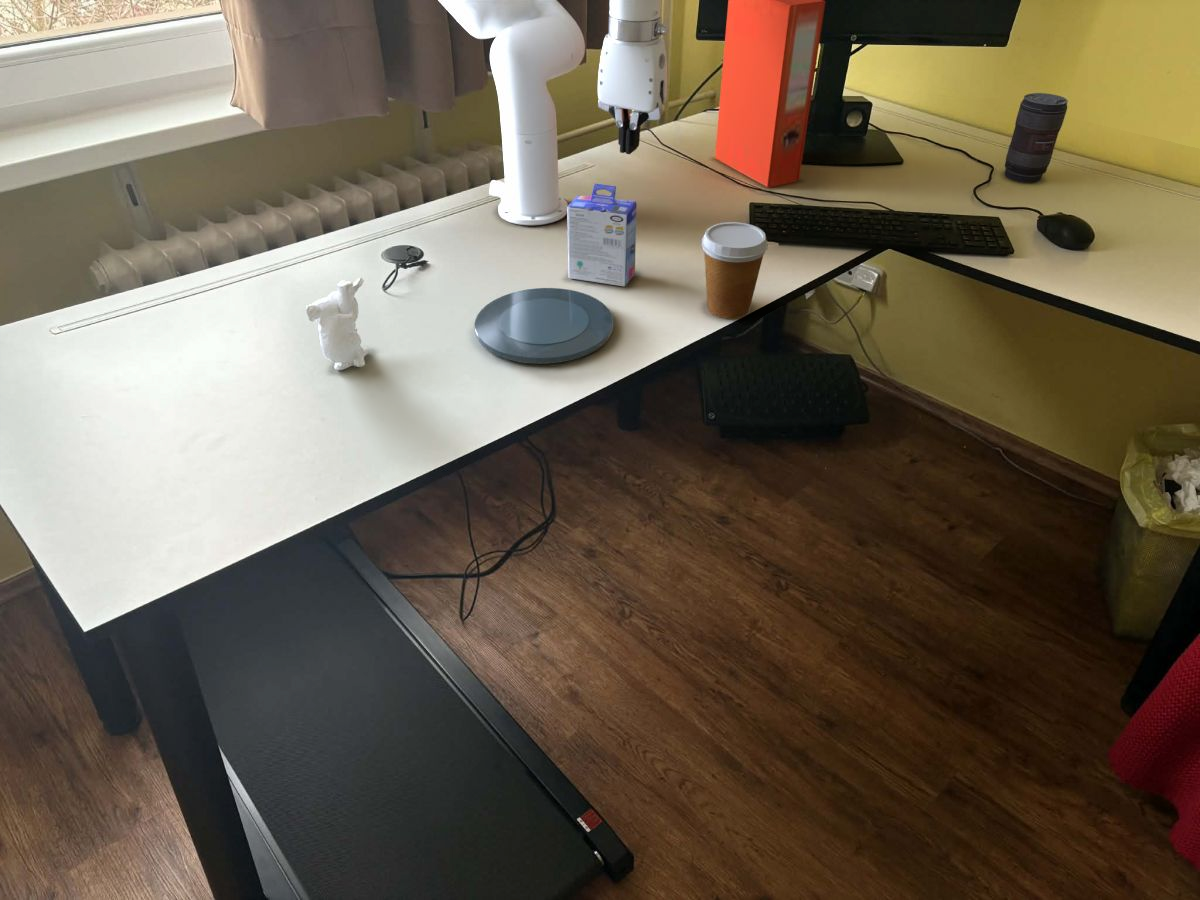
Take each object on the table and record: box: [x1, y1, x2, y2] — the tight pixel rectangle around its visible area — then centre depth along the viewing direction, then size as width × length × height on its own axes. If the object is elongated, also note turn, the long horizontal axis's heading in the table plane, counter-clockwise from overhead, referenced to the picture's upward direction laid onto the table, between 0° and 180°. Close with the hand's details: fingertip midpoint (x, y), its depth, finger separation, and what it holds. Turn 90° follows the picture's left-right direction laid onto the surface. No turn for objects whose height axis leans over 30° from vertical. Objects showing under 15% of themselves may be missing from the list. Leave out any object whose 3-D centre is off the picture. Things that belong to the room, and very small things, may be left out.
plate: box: [474, 287, 614, 365], centre depth 130 cm, size 20×20×2 cm
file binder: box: [714, 0, 826, 189], centre depth 169 cm, size 8×17×32 cm, turn 29°
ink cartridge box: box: [566, 183, 637, 287], centre depth 139 cm, size 10×6×14 cm, turn 72°
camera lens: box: [1004, 92, 1069, 184], centre depth 171 cm, size 8×8×15 cm
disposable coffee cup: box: [700, 221, 769, 320], centre depth 132 cm, size 10×10×12 cm
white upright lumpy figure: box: [305, 277, 370, 371], centre depth 120 cm, size 8×7×12 cm
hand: (628, 150), depth 144 cm, fingers closed
